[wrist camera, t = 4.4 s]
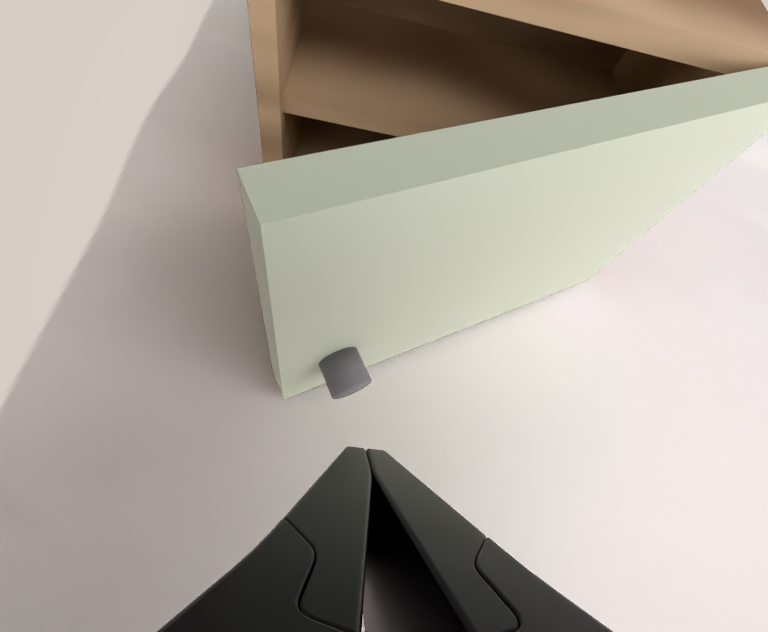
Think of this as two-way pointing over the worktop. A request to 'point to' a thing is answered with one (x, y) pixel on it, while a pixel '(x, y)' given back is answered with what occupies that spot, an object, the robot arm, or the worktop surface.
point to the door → (472, 219)
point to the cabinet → (475, 60)
